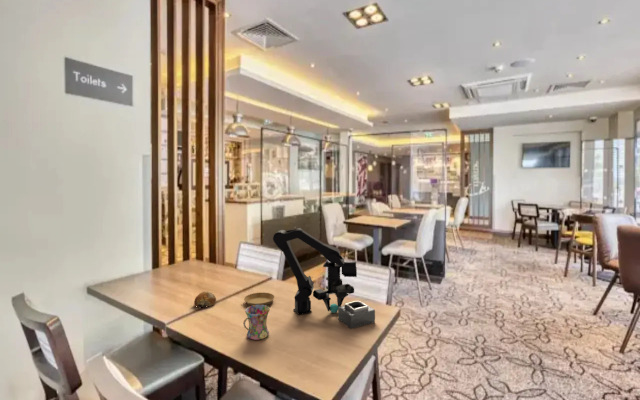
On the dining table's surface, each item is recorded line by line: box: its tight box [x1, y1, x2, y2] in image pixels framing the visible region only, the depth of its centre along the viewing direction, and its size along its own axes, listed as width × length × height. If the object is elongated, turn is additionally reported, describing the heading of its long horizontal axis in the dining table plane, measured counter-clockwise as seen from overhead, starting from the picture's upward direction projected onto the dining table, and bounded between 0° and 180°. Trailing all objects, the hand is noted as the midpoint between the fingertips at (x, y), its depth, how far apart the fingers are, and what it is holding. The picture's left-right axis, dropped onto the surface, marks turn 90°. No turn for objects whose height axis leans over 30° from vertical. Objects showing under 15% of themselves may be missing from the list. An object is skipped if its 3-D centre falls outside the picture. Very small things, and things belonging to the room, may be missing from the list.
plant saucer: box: [243, 292, 275, 307], centre depth 160 cm, size 15×15×3 cm
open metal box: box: [337, 300, 376, 330], centre depth 139 cm, size 12×10×7 cm
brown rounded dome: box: [193, 291, 217, 308], centre depth 158 cm, size 10×10×8 cm
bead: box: [329, 303, 338, 314], centre depth 148 cm, size 4×4×4 cm
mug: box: [242, 305, 270, 341], centre depth 125 cm, size 12×9×11 cm
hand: (333, 309), depth 148 cm, fingers open, 5 cm apart
